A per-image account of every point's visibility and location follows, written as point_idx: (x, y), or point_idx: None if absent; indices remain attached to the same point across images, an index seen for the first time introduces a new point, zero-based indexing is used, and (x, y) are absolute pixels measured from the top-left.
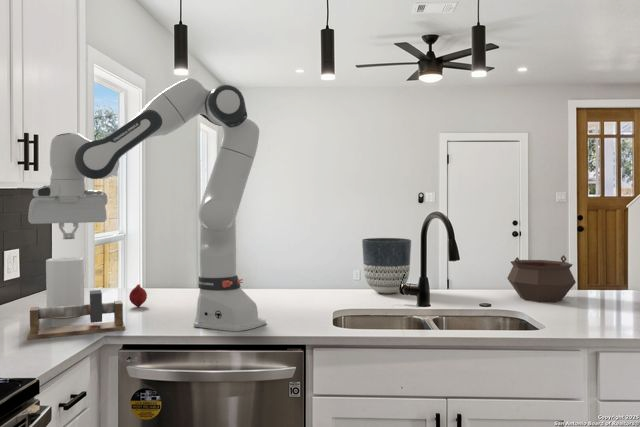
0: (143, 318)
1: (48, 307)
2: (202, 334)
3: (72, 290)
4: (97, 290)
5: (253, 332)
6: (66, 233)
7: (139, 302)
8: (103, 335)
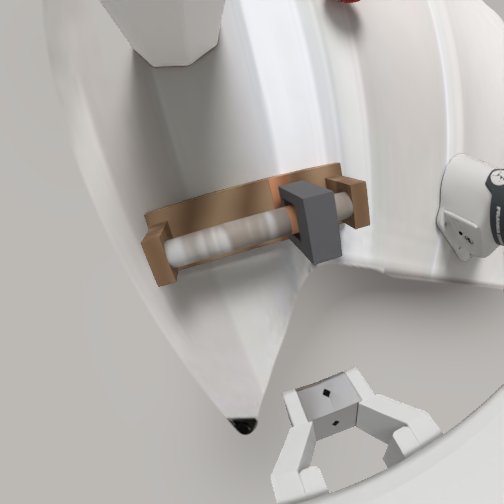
0: (369, 115)
1: (190, 251)
2: (434, 269)
3: (200, 28)
4: (325, 200)
5: (470, 265)
6: (319, 436)
7: (347, 2)
8: None
